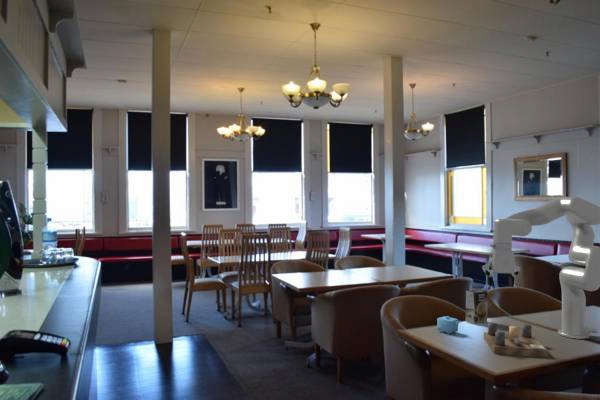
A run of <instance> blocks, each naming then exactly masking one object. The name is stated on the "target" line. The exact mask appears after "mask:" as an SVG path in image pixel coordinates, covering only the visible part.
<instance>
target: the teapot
mask: <svg viewBox="0 0 600 400" xmlns="http://www.w3.org/2000/svg"><path fill="white" fill-rule="evenodd" d="M436 321H437V325H436V327H437V331H440V333H441V334H442V333H443V334H444V333H446V334H447V335H451V334H455V333H456V332H458V331H459V323H461V322H462V321H461V320H459V319H458V318H454V317H450V316H449V315H447V316H446V315H444V316H442V317H441V316H440V317H437V319H436Z"/></svg>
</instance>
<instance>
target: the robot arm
mask: <svg viewBox="0 0 600 400" xmlns="http://www.w3.org/2000/svg"><path fill="white" fill-rule="evenodd" d="M562 217H566V220H567V221H568V223H569V224H570V225H571V228H572V238H571V239H572V240H571V243H570V247H569V249H568V250H569V251H568V255H567V256H568V260H569V262H571V263H572V264H575V265H579V266H583V267H579V266H578V267H577V266H571V265H569V266H565V267H563V268H562V269H561V270H560V271H559V274H558V275H559V277H558V279H559V283H560V288H561V329H558V330H557V334H558V335H560V336H562V337H565V338H570V339H578V340H580V339H581V340H586V339H590V333H592V334H598V331H599V330H598V328H593V327H589V326H587V325H586V321H587V320H586V317H587V316H586V314H587V313H586V310H587V306H586V305H587V304H586V303H587V301H586V300H587V298H586V294H585V291H588V292H595V291H597V290H599V289H600V246H597V245H594V243H595V237H596V236H595V231H594V229H593V227H592V226H597V225H600V206H599V205H596V204H595V203H593V202H590V201H588V200H585V199H584V198H582V197H578V196H559V197H555V198H554V199H551V200H550V201H547V202H545V203H543V204H541V205H539V206H537V207H533V208H530V209H526V210H523V211H519V212H517V213H513V214H511V215H510V216H507V217H505V218H496V219H494V221H493V233H492V234H493V235H492V243H490V247H491V248H492V249H490V250H491V251H490V254H489V259H488V262H487V263H486V264H484V265H482V267H481V268H482V270H483V273H484V274H485V276H487V279H486V281H487V282H486V283H487V286H491V287H494V275H495V274H508V275H509V276H508V283H507V284H508V286H509V287H514V286H515V283H516V282H515V278H516V277H517V275H518V274H520V271H521V269H522V268H521V267H520V266H519V265H517V264H516V259H515V253H514V250H513V249H512V246H513V245H512V244H513V243H512V242H513V236H514V237H526V236H529V234H531V233H532V231H533V227H534V226H535V227H536V226H543V225H544V226H545V225H547V224H550V223H551V222H554V221H555V220H558V219H560V218H562ZM584 266H585V268H584Z"/></svg>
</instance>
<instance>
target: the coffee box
mask: <svg viewBox="0 0 600 400" xmlns="http://www.w3.org/2000/svg"><path fill="white" fill-rule="evenodd" d="M488 293H489V292H488V291H487V290H482V289H470V290H465V322H466V323H468V324H472V325H480V324H481V325H482V324H488Z"/></svg>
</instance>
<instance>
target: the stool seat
mask: <svg viewBox="0 0 600 400" xmlns="http://www.w3.org/2000/svg"><path fill="white" fill-rule="evenodd" d="M521 327H522V328H521V330H522V331H521V333H520V334H519V341H522V345H516V344H515V342H514V341H513V340H511V339H509V333H505V331H501V330H498V323H497V322H493V321H489V322H487V332H486V331H484V332H483V340H484V341H485V342H486V344H487V346H488V347H489V349H490V350H491V351H492V353H493V354H494V355H496V354H497V355H508V356H522V357H523V356H524V357H538V358H548V356H549V355H548V350H549V349H547V347H545V345H543V344H542V343H541V342H540V341H539V340H538V339H537V338H536V337H535V336H534V335H533V334H532V324H528V323H522V325H521Z"/></svg>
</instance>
